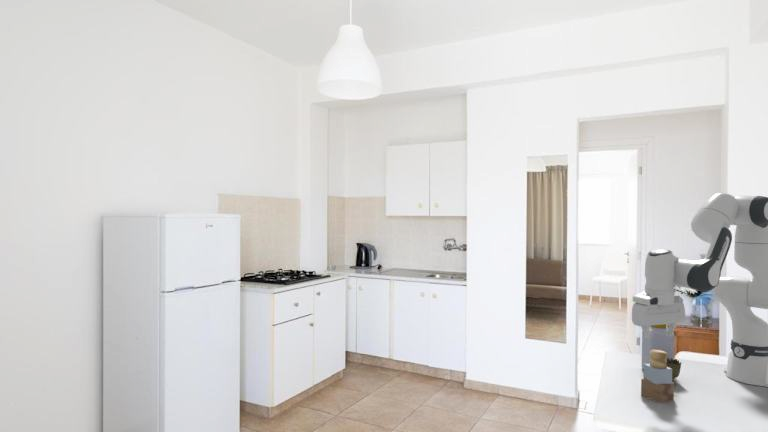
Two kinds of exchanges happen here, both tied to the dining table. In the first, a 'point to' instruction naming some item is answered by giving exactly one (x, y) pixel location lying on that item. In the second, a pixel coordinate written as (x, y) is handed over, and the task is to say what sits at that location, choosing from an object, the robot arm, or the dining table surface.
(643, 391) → the tower base
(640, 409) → the dining table surface
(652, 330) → the soap bottle
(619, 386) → the dining table surface
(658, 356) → the beech cylinder
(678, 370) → the cup
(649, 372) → the tower top block
